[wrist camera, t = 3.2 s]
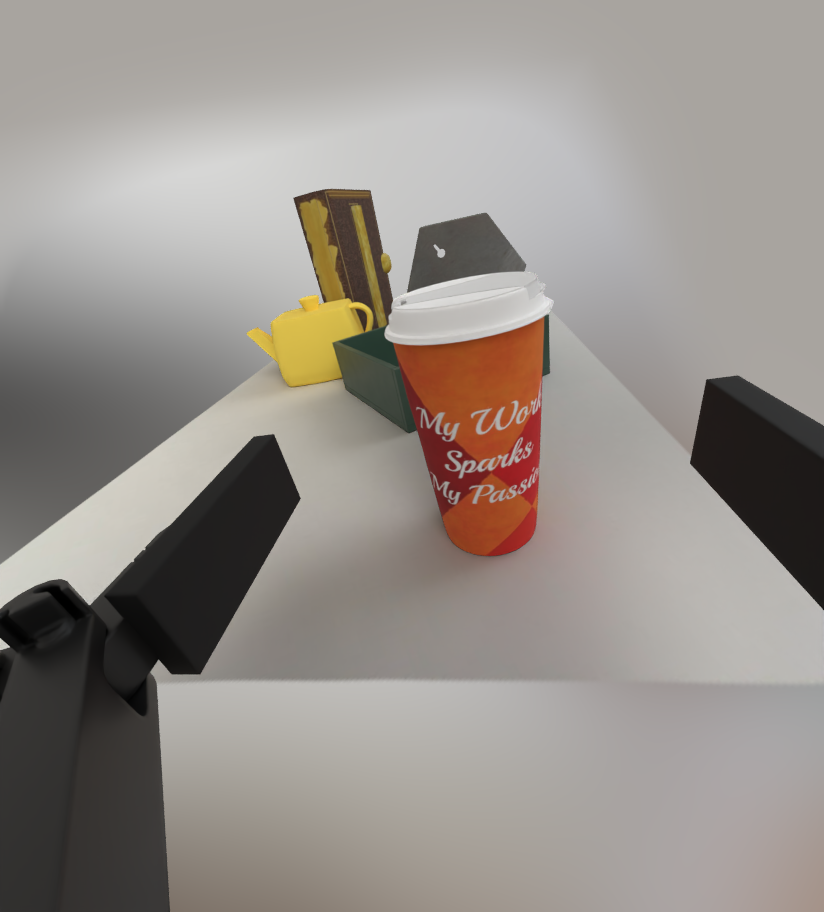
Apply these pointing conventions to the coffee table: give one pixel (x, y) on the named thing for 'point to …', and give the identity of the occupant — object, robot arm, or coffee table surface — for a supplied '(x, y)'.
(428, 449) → the coffee cup
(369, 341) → the bin
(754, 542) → the coffee table surface
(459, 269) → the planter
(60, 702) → the robot arm
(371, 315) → the teapot
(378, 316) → the book
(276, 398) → the coffee table surface
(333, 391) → the coffee table surface
